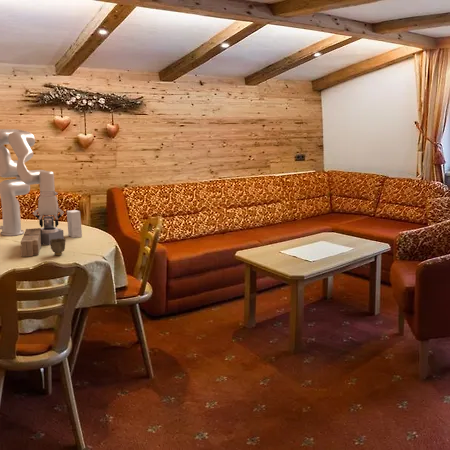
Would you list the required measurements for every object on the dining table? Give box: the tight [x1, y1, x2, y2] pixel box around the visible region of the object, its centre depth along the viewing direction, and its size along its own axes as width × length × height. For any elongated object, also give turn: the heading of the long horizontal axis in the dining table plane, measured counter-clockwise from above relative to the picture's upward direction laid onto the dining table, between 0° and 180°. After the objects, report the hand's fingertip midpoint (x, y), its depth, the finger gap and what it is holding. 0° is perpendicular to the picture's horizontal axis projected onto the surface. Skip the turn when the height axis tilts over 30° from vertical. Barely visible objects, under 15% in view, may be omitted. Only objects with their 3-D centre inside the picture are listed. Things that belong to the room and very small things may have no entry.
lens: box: [42, 215, 55, 230], centre depth 274 cm, size 6×5×8 cm
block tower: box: [20, 227, 42, 257], centre depth 259 cm, size 8×8×29 cm
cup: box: [49, 238, 66, 257], centre depth 249 cm, size 8×7×8 cm
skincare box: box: [66, 209, 83, 239], centre depth 291 cm, size 8×6×15 cm
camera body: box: [40, 226, 64, 246], centre depth 276 cm, size 9×12×8 cm
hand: (49, 226), depth 275 cm, fingers open, 7 cm apart
